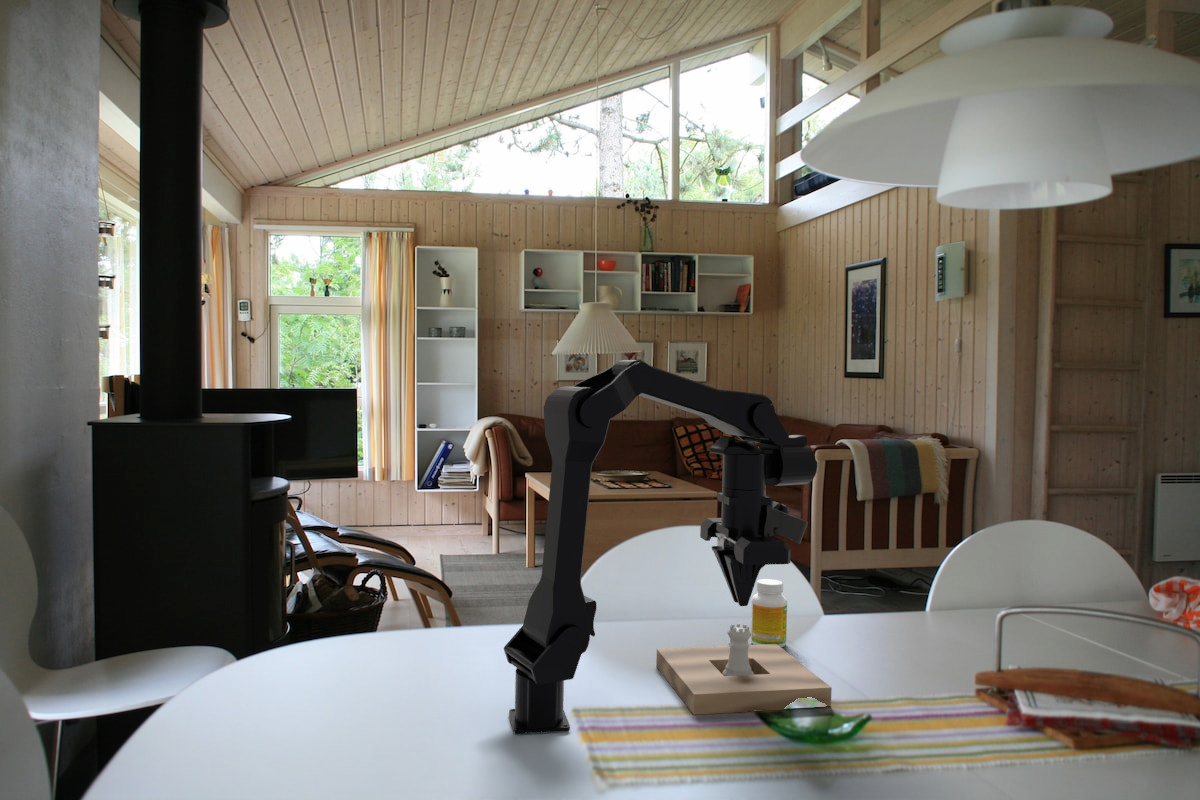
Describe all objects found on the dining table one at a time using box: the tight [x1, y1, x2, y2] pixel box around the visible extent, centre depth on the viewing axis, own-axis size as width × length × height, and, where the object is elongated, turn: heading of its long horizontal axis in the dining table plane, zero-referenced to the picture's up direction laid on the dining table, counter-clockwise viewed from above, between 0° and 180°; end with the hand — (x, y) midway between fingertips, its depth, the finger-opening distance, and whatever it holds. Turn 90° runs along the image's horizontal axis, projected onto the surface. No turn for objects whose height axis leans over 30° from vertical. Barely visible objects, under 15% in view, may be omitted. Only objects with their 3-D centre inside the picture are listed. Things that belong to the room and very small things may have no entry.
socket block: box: [655, 644, 833, 716], centre depth 119 cm, size 18×18×2 cm
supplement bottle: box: [750, 578, 788, 648], centre depth 138 cm, size 5×5×10 cm
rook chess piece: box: [722, 623, 754, 676], centre depth 119 cm, size 4×4×8 cm
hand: (740, 603), depth 119 cm, fingers closed
